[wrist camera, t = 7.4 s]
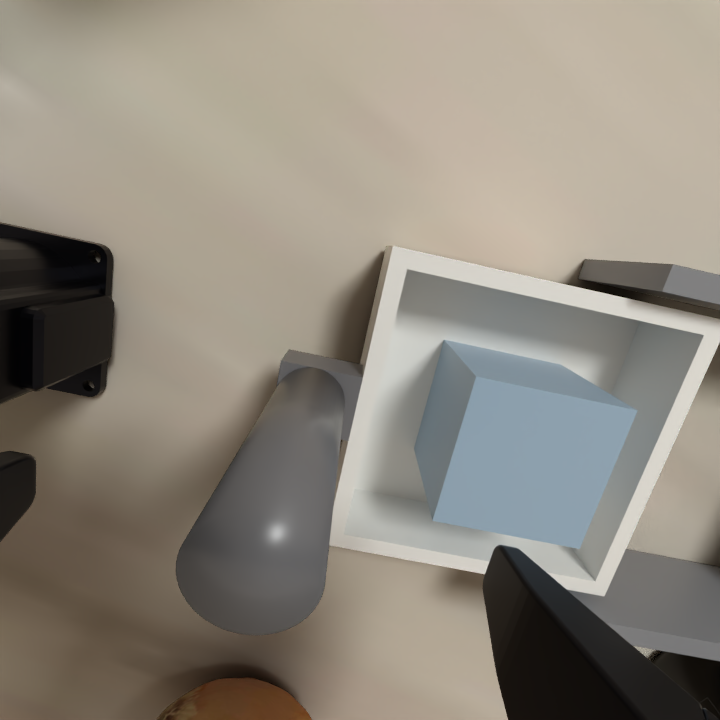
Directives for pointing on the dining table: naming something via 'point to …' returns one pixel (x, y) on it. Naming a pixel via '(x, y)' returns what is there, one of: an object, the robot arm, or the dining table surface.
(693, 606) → the bay
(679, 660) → the supplement bottle
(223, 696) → the onion
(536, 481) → the light blue cube
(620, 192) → the dining table surface
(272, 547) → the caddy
